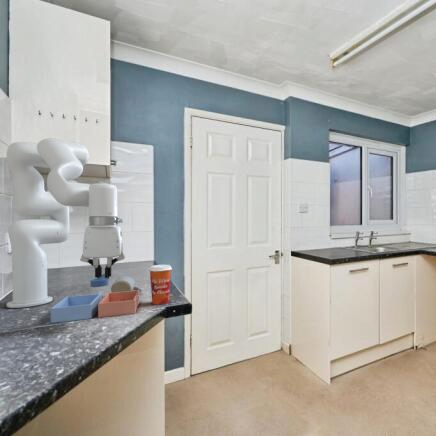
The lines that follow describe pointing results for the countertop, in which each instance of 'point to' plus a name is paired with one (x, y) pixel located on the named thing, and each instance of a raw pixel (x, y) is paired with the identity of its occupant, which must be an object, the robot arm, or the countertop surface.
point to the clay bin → (119, 303)
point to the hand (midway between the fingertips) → (103, 279)
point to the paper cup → (160, 283)
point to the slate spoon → (99, 281)
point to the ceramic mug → (124, 285)
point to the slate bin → (75, 308)
